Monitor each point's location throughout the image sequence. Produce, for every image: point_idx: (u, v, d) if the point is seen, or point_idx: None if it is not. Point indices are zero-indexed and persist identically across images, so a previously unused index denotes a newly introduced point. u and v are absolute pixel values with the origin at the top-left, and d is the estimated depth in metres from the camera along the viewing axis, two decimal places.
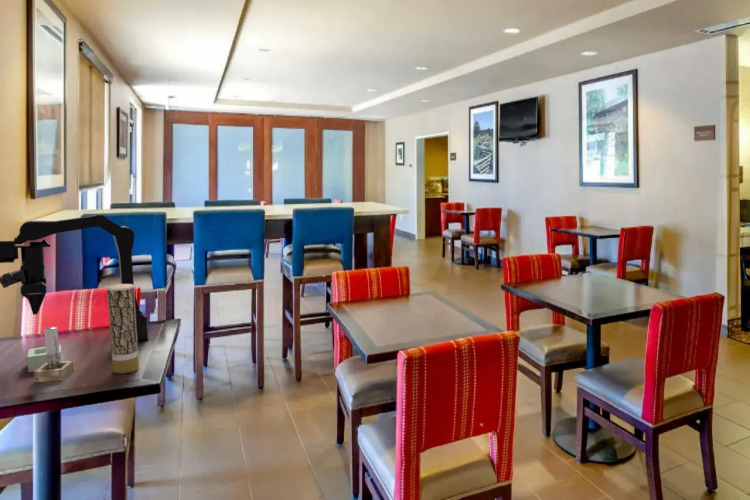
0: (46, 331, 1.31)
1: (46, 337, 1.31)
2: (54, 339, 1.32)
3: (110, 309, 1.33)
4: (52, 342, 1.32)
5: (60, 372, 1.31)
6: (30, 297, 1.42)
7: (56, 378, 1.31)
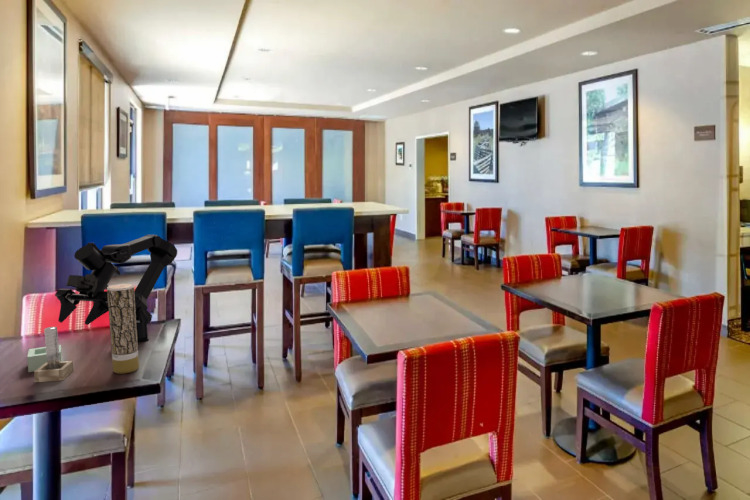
0: (46, 331, 1.31)
1: (46, 337, 1.31)
2: (54, 339, 1.32)
3: (110, 309, 1.33)
4: (52, 342, 1.31)
5: (60, 372, 1.31)
6: (98, 306, 1.41)
7: (56, 378, 1.31)
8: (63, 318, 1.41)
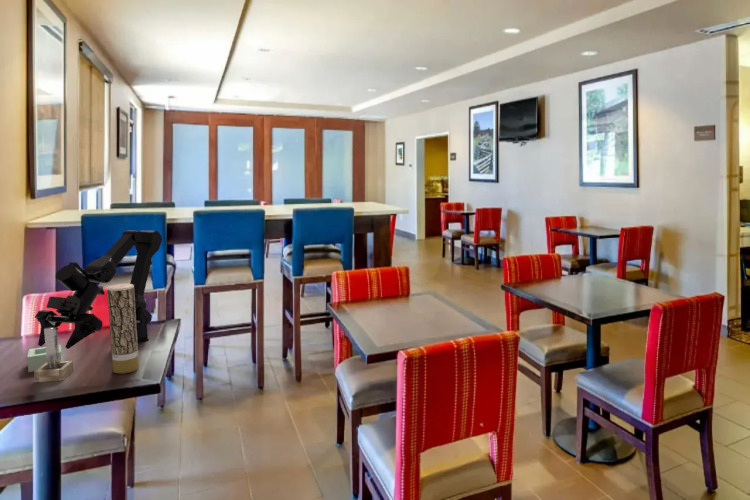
0: (46, 331, 1.31)
1: (46, 337, 1.31)
2: (54, 339, 1.32)
3: (110, 309, 1.33)
4: (52, 342, 1.31)
5: (60, 372, 1.31)
6: (80, 329, 1.34)
7: (56, 378, 1.31)
8: (43, 341, 1.35)
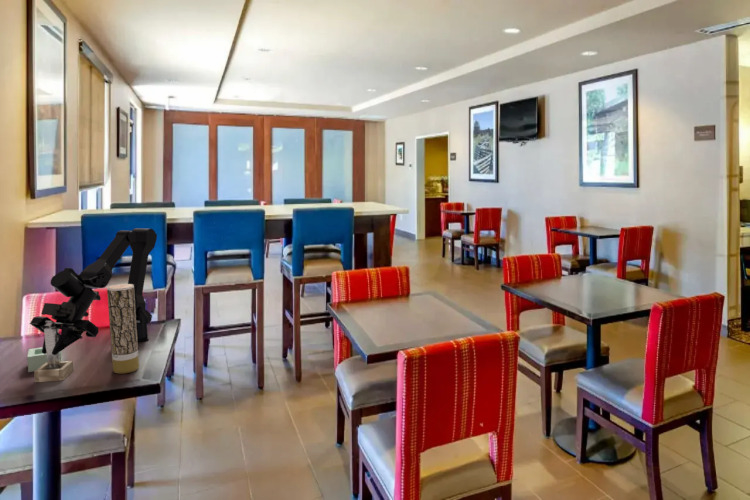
0: (46, 331, 1.31)
1: (46, 337, 1.31)
2: (54, 339, 1.32)
3: (110, 309, 1.33)
4: (52, 342, 1.31)
5: (60, 372, 1.31)
6: (67, 334, 1.34)
7: (56, 378, 1.31)
8: None
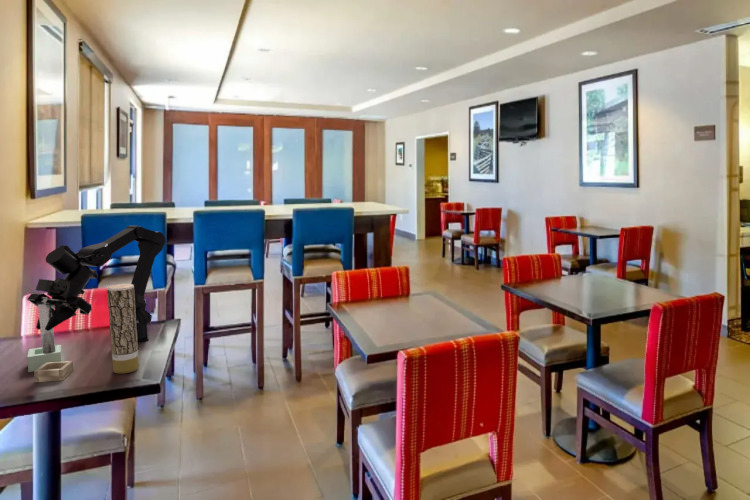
0: (39, 307, 1.32)
1: (40, 313, 1.32)
2: (47, 315, 1.33)
3: (110, 309, 1.33)
4: (45, 318, 1.33)
5: (60, 372, 1.31)
6: (60, 311, 1.35)
7: (56, 378, 1.31)
8: None
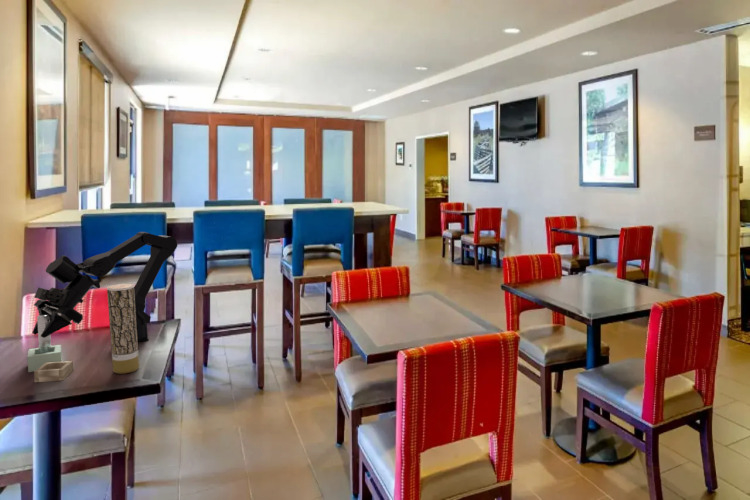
0: (38, 318, 1.40)
1: (38, 324, 1.40)
2: (44, 326, 1.40)
3: (110, 309, 1.33)
4: (42, 329, 1.40)
5: (60, 372, 1.31)
6: (56, 319, 1.40)
7: (56, 378, 1.31)
8: None
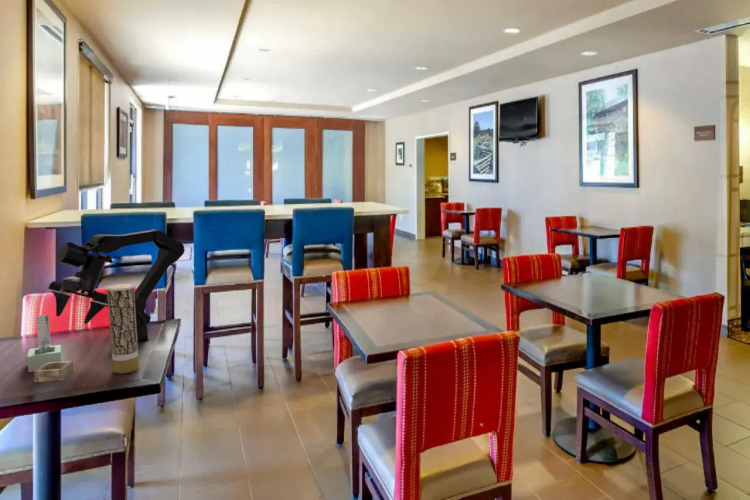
0: (37, 318, 1.39)
1: (37, 324, 1.40)
2: (43, 327, 1.40)
3: (110, 309, 1.33)
4: (41, 329, 1.40)
5: (60, 372, 1.31)
6: None
7: (56, 378, 1.31)
8: (60, 312, 1.48)
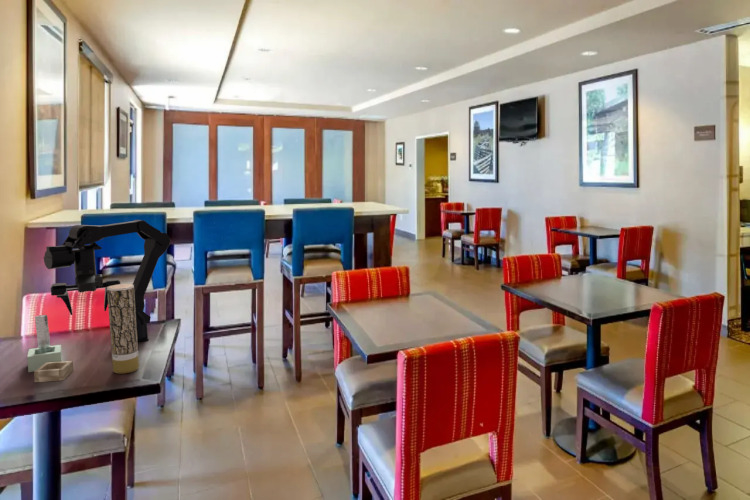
0: (35, 319, 1.39)
1: (36, 324, 1.40)
2: (42, 327, 1.40)
3: (110, 309, 1.33)
4: (40, 329, 1.40)
5: (60, 372, 1.31)
6: None
7: (56, 378, 1.31)
8: None
